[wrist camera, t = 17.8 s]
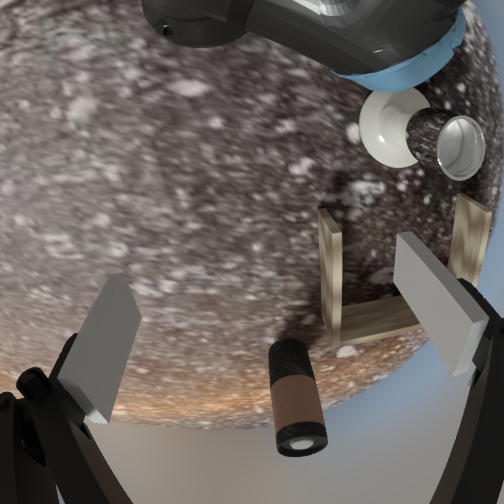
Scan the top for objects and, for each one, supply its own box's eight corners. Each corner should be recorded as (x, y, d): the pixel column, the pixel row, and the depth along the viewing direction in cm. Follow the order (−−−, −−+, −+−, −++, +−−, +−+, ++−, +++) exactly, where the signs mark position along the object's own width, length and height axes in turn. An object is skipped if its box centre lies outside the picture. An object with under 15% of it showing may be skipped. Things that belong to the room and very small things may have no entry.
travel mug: (258, 358, 58) (266, 453, 40) (281, 332, 55) (297, 431, 37) (292, 370, 60) (307, 459, 42) (316, 345, 57) (339, 438, 39)
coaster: (354, 82, 36) (356, 82, 35) (431, 84, 35) (433, 85, 35) (360, 169, 41) (362, 170, 41) (432, 164, 41) (434, 165, 40)
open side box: (317, 208, 44) (332, 233, 37) (462, 192, 43) (492, 211, 36) (321, 315, 53) (332, 348, 46) (447, 289, 52) (467, 315, 45)
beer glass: (410, 155, 40) (474, 190, 27) (368, 141, 39) (426, 171, 26) (423, 110, 37) (493, 129, 23) (381, 93, 36) (446, 102, 23)
